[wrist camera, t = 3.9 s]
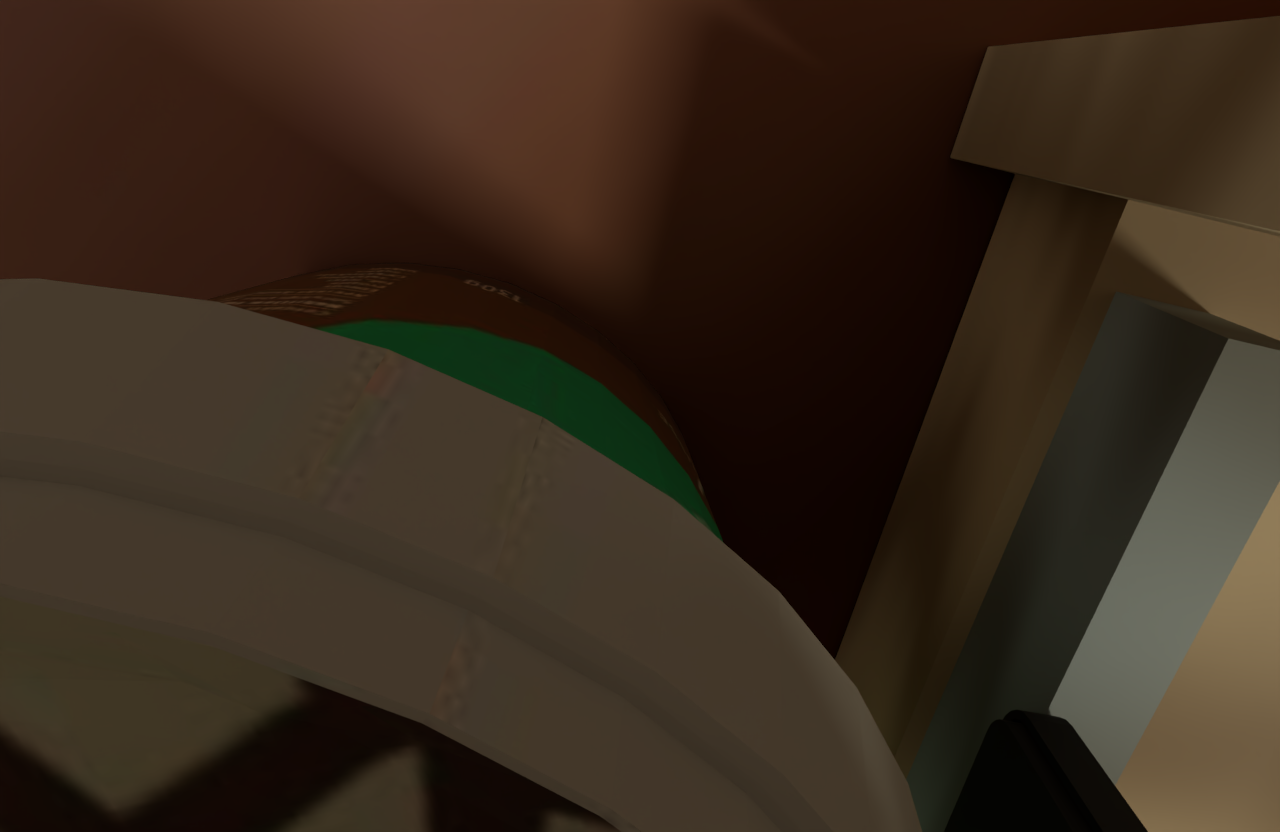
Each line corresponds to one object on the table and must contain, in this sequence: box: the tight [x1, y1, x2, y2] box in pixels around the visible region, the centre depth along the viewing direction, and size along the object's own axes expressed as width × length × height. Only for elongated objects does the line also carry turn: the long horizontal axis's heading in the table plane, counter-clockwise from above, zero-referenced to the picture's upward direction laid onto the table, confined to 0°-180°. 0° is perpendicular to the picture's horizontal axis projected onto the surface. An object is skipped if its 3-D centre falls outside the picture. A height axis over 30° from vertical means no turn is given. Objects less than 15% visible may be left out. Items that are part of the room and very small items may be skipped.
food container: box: [0, 263, 922, 832], centre depth 10 cm, size 12×6×10 cm, turn 14°
